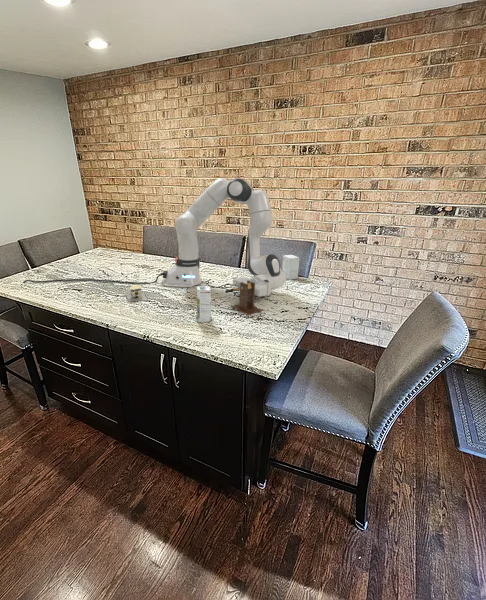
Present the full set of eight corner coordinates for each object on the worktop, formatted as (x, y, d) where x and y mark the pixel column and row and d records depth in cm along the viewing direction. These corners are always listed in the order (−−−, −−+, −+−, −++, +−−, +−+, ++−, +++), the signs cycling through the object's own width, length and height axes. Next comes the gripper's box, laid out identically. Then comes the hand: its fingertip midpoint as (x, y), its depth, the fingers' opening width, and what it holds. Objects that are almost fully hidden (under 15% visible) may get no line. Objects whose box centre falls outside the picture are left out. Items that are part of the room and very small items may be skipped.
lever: (225, 294, 158) (224, 289, 158) (240, 290, 163) (239, 285, 163) (242, 290, 147) (240, 285, 147) (257, 286, 151) (256, 281, 151)
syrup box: (196, 316, 149) (196, 285, 143) (209, 316, 149) (209, 285, 144) (197, 322, 143) (196, 290, 138) (211, 321, 144) (211, 290, 139)
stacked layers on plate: (126, 295, 174) (125, 285, 172) (143, 293, 178) (142, 283, 176) (129, 301, 166) (128, 291, 164) (147, 299, 169) (146, 288, 167)
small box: (297, 278, 200) (299, 257, 195) (288, 280, 198) (290, 258, 193) (290, 275, 207) (292, 254, 202) (281, 276, 205) (282, 255, 200)
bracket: (230, 308, 157) (231, 280, 152) (245, 304, 162) (246, 277, 157) (247, 317, 148) (248, 288, 143) (262, 313, 152) (264, 284, 147)
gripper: (245, 272, 175) (224, 277, 168) (273, 283, 159) (250, 288, 152) (245, 284, 177) (224, 289, 170) (272, 295, 161) (250, 301, 154)
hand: (236, 289), depth 161 cm, fingers open, 8 cm apart
